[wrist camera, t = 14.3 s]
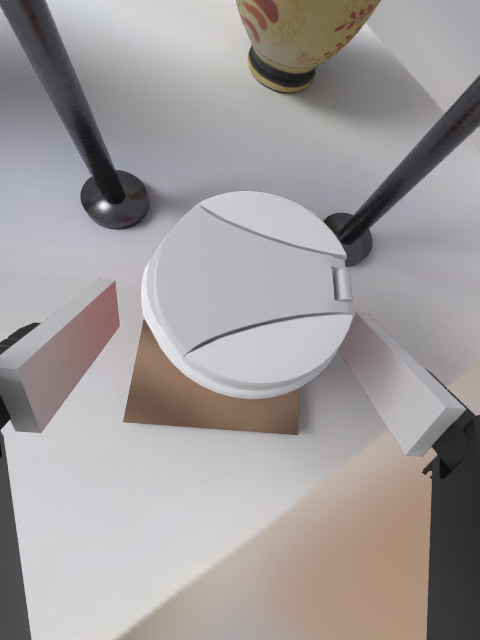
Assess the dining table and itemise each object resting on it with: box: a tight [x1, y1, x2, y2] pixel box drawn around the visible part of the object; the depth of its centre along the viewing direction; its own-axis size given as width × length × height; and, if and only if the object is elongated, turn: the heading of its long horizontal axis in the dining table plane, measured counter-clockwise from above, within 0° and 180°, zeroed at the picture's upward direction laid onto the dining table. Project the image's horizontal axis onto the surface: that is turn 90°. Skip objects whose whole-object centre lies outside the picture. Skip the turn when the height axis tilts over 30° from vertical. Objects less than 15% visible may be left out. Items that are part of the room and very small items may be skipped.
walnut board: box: [123, 319, 299, 435], centre depth 22 cm, size 14×14×1 cm
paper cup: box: [141, 191, 353, 399], centre depth 15 cm, size 8×8×14 cm
